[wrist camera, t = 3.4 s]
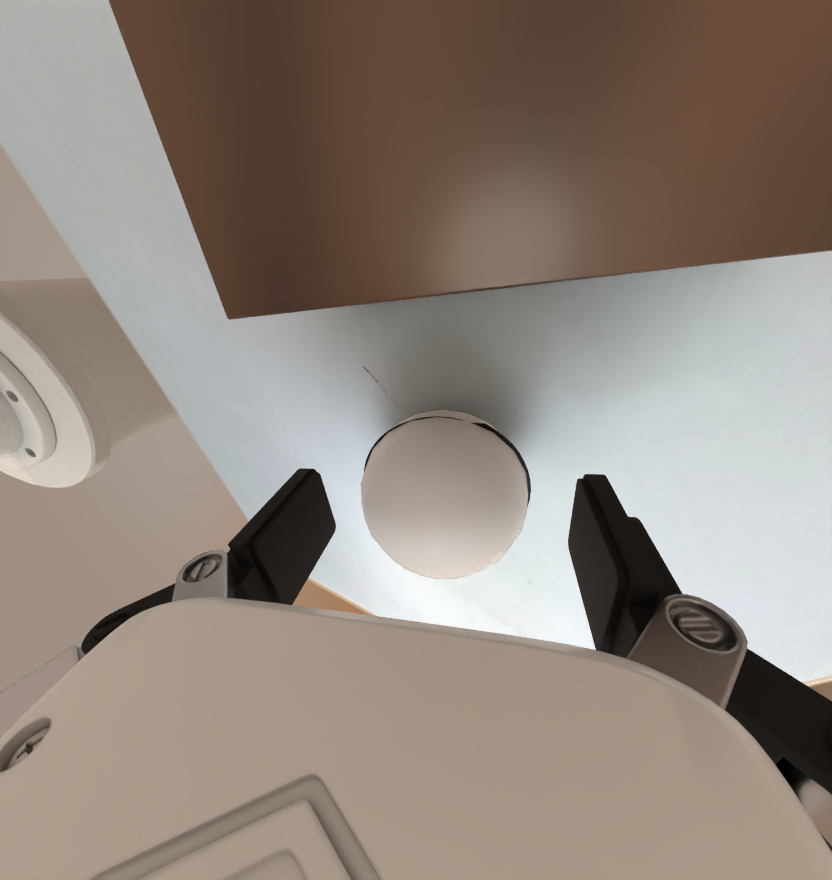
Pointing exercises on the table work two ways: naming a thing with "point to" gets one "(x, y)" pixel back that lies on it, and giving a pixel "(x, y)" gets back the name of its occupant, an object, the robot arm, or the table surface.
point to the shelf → (484, 139)
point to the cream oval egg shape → (444, 493)
